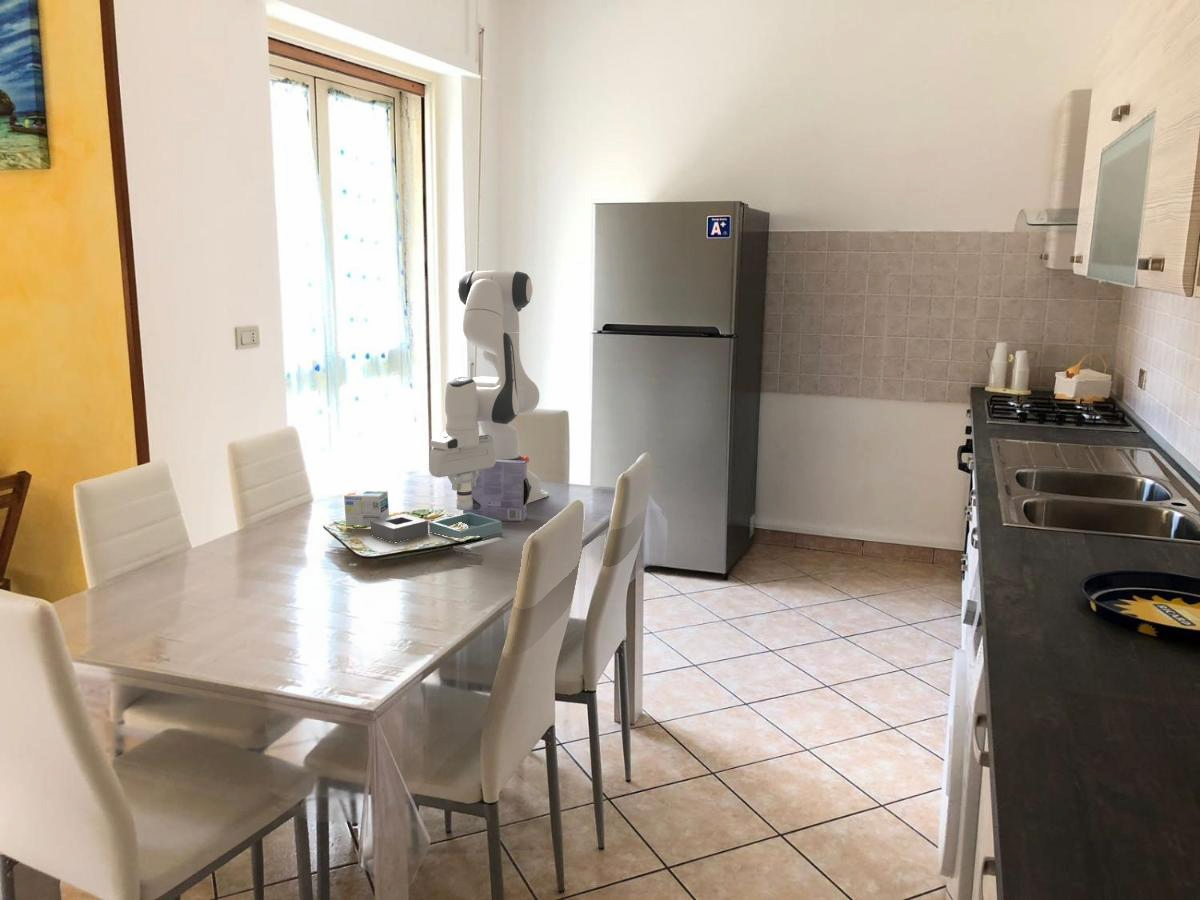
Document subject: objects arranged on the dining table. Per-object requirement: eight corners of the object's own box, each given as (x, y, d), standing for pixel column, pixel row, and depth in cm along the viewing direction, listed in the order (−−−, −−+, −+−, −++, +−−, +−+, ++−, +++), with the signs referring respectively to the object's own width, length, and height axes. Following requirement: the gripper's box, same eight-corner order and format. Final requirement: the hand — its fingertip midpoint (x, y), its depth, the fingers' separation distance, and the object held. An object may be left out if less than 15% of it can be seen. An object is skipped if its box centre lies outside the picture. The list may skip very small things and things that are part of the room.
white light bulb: (466, 505, 259) (465, 470, 257) (476, 508, 256) (475, 472, 254) (453, 508, 256) (452, 472, 254) (463, 511, 253) (462, 474, 251)
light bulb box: (390, 526, 267) (388, 490, 265) (382, 533, 260) (380, 495, 258) (354, 526, 268) (351, 489, 266) (345, 532, 261) (343, 495, 259)
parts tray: (469, 525, 267) (469, 512, 267) (502, 535, 258) (501, 521, 257) (429, 536, 257) (429, 522, 257) (461, 546, 248) (461, 531, 247)
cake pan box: (530, 517, 276) (529, 458, 273) (527, 522, 271) (526, 462, 268) (466, 516, 278) (464, 457, 274) (462, 520, 273) (460, 461, 270)
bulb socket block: (405, 530, 263) (404, 513, 262) (428, 538, 255) (427, 520, 254) (371, 538, 255) (370, 521, 254) (394, 547, 248) (393, 528, 247)
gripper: (485, 432, 262) (486, 480, 264) (424, 441, 247) (426, 492, 250) (499, 434, 257) (500, 483, 260) (439, 444, 243) (441, 496, 246)
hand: (464, 488), depth 255 cm, fingers closed on white light bulb, 4 cm apart
